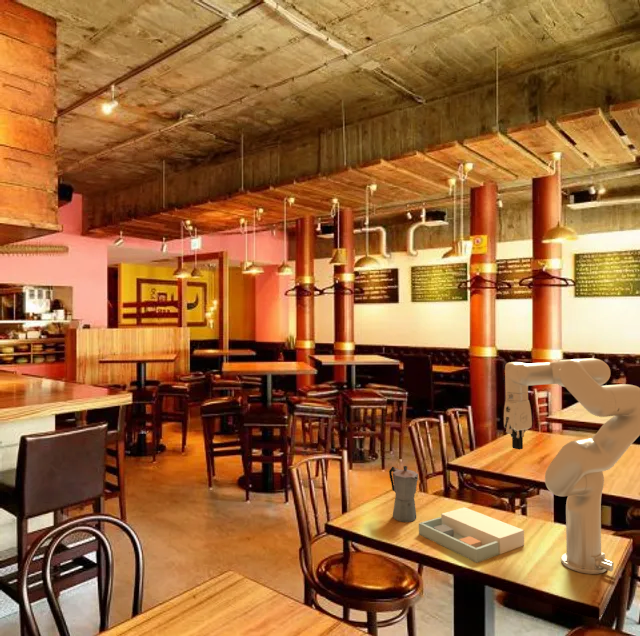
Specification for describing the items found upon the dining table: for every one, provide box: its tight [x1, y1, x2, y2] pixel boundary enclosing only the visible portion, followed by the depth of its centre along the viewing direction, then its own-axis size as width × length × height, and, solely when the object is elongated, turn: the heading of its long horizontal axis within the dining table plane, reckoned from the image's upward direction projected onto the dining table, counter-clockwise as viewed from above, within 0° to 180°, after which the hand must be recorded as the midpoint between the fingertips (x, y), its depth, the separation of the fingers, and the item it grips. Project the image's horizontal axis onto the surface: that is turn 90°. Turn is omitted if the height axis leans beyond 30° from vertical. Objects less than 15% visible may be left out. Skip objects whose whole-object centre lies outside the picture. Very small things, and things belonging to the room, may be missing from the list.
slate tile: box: [433, 525, 454, 537], centre depth 184 cm, size 5×5×2 cm
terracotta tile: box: [459, 536, 481, 548], centre depth 173 cm, size 5×5×2 cm
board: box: [440, 506, 525, 555], centre depth 184 cm, size 26×12×5 cm, turn 32°
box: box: [418, 516, 501, 563], centre depth 178 cm, size 26×11×4 cm, turn 32°
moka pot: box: [388, 465, 419, 523], centre depth 202 cm, size 10×15×20 cm, turn 40°
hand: (517, 448), depth 188 cm, fingers closed
